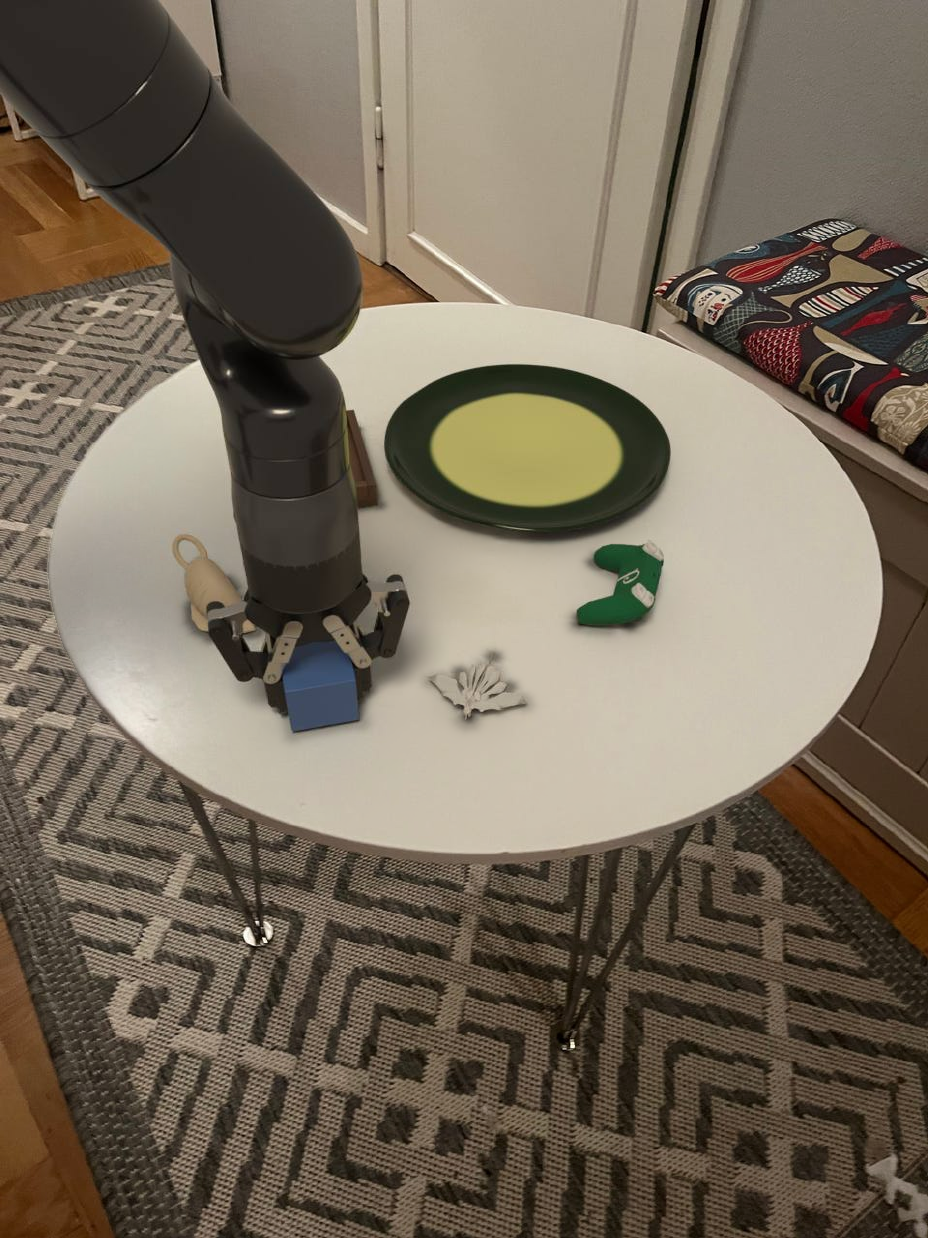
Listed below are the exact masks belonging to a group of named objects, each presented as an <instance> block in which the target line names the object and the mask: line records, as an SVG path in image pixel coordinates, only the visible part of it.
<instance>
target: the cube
mask: <svg viewBox="0 0 928 1238" xmlns="http://www.w3.org/2000/svg"><path fill="white" fill-rule="evenodd" d="M282 677H283V684H284V690H285V696H286V702H287V708H288V712H287V713H288V720H289V725H290V730H291V733H292V732H298V731H303V730H310V729H316V728H320V727H321V728H322V727H326V726H331V725H336V724H343V723H349V722H354V721H359V720H360V713H359V703H358V702H359V700H357V688H356V679H355V674H354V670H353V666H352V661H351V658H350V657H349V655H348V654H345V653H344V652H343V650H342V649H341V647H340V646H339V645H338V643H337V642H336V641H331V642H313V643H310V644H307V645H305V646H300V647H294V649H293V652H292V655H291V658H290V660H289V663H288V664H285V667H284V669H283V672H282Z"/></svg>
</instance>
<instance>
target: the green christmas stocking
mask: <svg viewBox="0 0 928 1238" xmlns="http://www.w3.org/2000/svg"><path fill="white" fill-rule="evenodd" d="M664 556H665V555H664V553H663V551H662V550H661V548H660V547H659V546H658V545H657V544H656V543H654V542H653V541H652V540H650V539H649V540H647V542H646V543H643V544H638V545H635V544H625V543H610V544H605V545H602V546H601V547H600V548H598V549H597V550H595V552H594V553H593V560H594V563H595V564H596V565H597V566H598V567H600V568H602V569H605V570H609V571H612V572H617V573H618V576H617V579H616V583H615V587H614V589H613V590H614V591H613V594H612V595H609V596H605V597H601V598H598V599H594V600H590V601H588V602H586V603H584V604H583V605H581V606H579V607H578V608H577V609H576V616H577V618H576V619H577V623H578V624H580V625H587V626H612V625H619V624H626V623H630V622H632V621H635V620H636V621H639V620H641V619H642V618H643V616H644V615H646V614H647V613H648V612H650V611H651V610H652V608H653V607H654V605H655V602H656V598H655V597H656V594H657V592H658V588H659V584H660V580H661V576H662V572H663V571H662V570H663V567H664V565H665V564H664V563H665V557H664Z"/></svg>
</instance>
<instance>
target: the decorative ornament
mask: <svg viewBox="0 0 928 1238" xmlns="http://www.w3.org/2000/svg"><path fill="white" fill-rule="evenodd" d="M182 541H188V542H190V543H192V544H193V545H194V546H195V547H196V549H197V551H198V552H199V556H198V557H196V558H194V559H193V560H192V561H191V562H190V563H188V562H187V561H185V559H184V558H183V556H182V554H181V552H180V549H179V548H180V547H179V546H180V543H181V542H182ZM171 550H172V554H173V557H174V559H175V561H176V562H177V564H178V565H179V566H180V567H182V568H183V569H184V587H185V592H186V596H187V598H188V599H189V600H190V603H191V604H190V609H191V615H190V617H191V620H192V621H193V622H194V623H195V625H196V627H197V629H199V630H200V631H202V632H206V633H207V632H208V622H207V611H206V607H207V605H208V604H209V603H210V602H213V601H219V602H221V603H223V604H224V606H225V607H227V606H230V605H233V604H236V603H239V602H242V601H243V599H242V598H241V596H240V595H239V593H238V592H237V590H236V588H235V587H234V585H233V584H232V582H231V581H230V579H229V578H228V576H227V575H226V573H225V572H224V571H223V570H222V568H221V567H220V566H219V565H218V564H217V563H216V562H215V561H214V560H212V559H211V558H209V556H208V555H209V554H208V552H207V550H206V548H205V546H204V544H203V543H202V542H201V541H200V540H199V539H198V538H197V537H195V536H194V535H192V534H189V533H181V534H178V535H177V536H176V537H174V539H173V541H172V545H171ZM256 629H257V628H256V626H255V625H254V624H253V623H251V622H250V621H249V620H247V621H245V622H244V623H243V633H242V634H245V633H250V632H255V631H257V630H256Z"/></svg>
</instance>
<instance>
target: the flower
mask: <svg viewBox="0 0 928 1238" xmlns="http://www.w3.org/2000/svg"><path fill="white" fill-rule="evenodd" d="M494 655H495V652H492V653H491V655H490V658H489V660H488V664H487V665H486V664H485V663H483V662H481V663H480V664H479V665H478V666H476V664H471V665H470V668H469V670H468V679H469V681H468V680H467V673H466V672H465V671H461V672H459V675H458V676H459V677H458V680H457V679H455V678H453V677H451V676H449V675H447V674H434V675H430V676H427V678H428V679H429V680H430V681H431V682H432V683H433V684H434V685H435V686H436V687H437V688H438V689H439V690H440V692H441V693H440V692H439V695H442V696H444V697H446V698H448V699H450V700H451V701H452V703H453V706H456V705H462V706H463V711H462V714H463V716H464V717H465V720H467V717H468V718H470V717H471V715H472V711H473V710H474V709H477V710H479V712H480V713H483V712H484V711H488V710H497V711H500V710H502V709H504V708H508V707H514V706H518V705H524V704H528V701H527V700H526V699H525V697H523V696H522V695H520V694H519V693H517V692H506V691H505V689H506V687H507V686H508V684H506V682H504V681H499V679H500V676H501V671H500V670H497V669H496V666H495V665H491V663H492V661H493V658H494ZM474 677H475V678H474ZM473 679H474V682H473ZM458 681H459V682H458ZM467 681H468V682H469V684H468V683H467ZM458 683H459V684H460V685H461V686H462V687H463V689H462V690H460V688H459V686H458V685H459V684H458ZM493 685H494V686H493ZM491 686H493V687H492V688H490V687H491ZM489 688H490V689H489ZM487 689H489V690H488V691H486V690H487ZM490 695H496V696H494V697H491V698H490Z"/></svg>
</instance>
